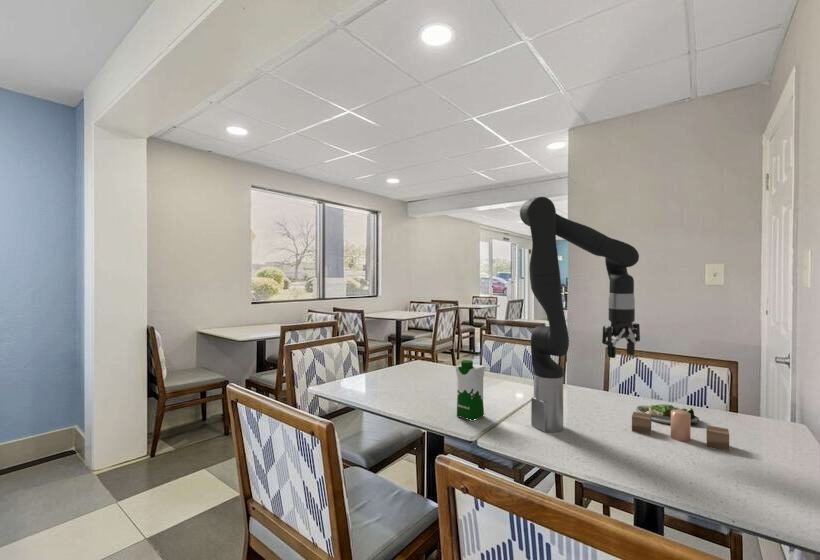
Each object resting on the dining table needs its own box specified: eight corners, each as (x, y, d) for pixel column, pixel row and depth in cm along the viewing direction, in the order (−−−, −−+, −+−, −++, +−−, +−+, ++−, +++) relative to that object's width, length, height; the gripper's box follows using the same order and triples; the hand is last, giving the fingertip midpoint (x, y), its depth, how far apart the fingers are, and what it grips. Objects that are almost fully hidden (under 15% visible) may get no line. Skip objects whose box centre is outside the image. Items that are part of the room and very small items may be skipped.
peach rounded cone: (683, 443, 116) (684, 416, 116) (667, 436, 121) (667, 411, 121) (694, 440, 118) (694, 413, 118) (677, 433, 123) (677, 408, 123)
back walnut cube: (650, 435, 122) (650, 419, 122) (631, 431, 125) (631, 416, 125) (651, 430, 126) (651, 414, 126) (633, 426, 129) (633, 411, 129)
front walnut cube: (729, 451, 110) (729, 434, 110) (707, 447, 113) (707, 430, 113) (727, 445, 114) (727, 428, 114) (706, 441, 117) (706, 425, 117)
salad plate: (651, 428, 128) (651, 414, 128) (622, 409, 146) (622, 397, 146) (710, 428, 128) (710, 414, 128) (673, 409, 146) (674, 397, 146)
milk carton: (453, 416, 138) (452, 360, 138) (467, 410, 145) (467, 356, 145) (473, 423, 132) (473, 364, 132) (488, 415, 139) (487, 360, 139)
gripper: (615, 309, 121) (615, 361, 121) (647, 306, 126) (647, 356, 127) (595, 307, 128) (595, 356, 128) (626, 304, 133) (626, 351, 134)
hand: (621, 356), depth 128 cm, fingers open, 8 cm apart
